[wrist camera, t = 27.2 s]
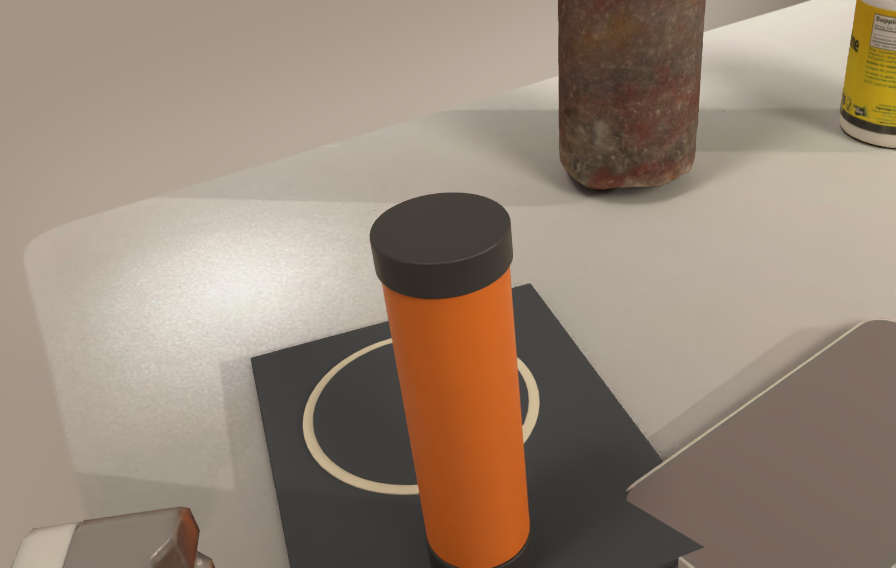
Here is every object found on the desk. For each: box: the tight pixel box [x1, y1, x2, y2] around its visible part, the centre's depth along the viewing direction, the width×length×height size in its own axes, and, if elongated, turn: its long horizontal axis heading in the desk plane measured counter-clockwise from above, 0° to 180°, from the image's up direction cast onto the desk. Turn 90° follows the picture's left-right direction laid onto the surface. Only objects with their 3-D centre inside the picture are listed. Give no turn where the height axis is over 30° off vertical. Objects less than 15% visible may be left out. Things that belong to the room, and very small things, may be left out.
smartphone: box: [626, 318, 896, 568], centre depth 29 cm, size 7×1×15 cm
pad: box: [251, 284, 704, 568], centre depth 32 cm, size 16×13×1 cm
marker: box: [370, 193, 533, 568], centre depth 24 cm, size 3×3×12 cm
